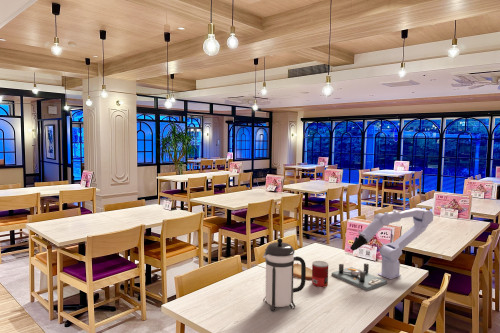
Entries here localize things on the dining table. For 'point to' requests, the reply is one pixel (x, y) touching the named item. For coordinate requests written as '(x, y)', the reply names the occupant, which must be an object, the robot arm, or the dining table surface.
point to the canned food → (320, 273)
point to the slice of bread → (298, 272)
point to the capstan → (355, 272)
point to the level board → (369, 282)
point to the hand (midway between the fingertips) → (352, 249)
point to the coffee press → (281, 274)
